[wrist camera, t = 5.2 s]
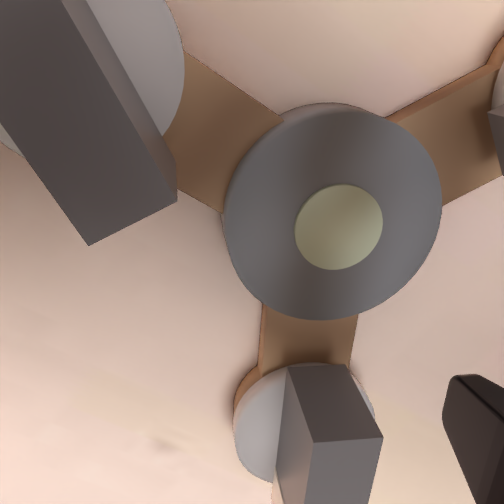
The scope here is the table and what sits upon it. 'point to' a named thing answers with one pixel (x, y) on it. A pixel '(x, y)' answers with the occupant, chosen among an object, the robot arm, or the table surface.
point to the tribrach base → (328, 198)
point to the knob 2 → (309, 435)
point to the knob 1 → (93, 104)
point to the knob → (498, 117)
